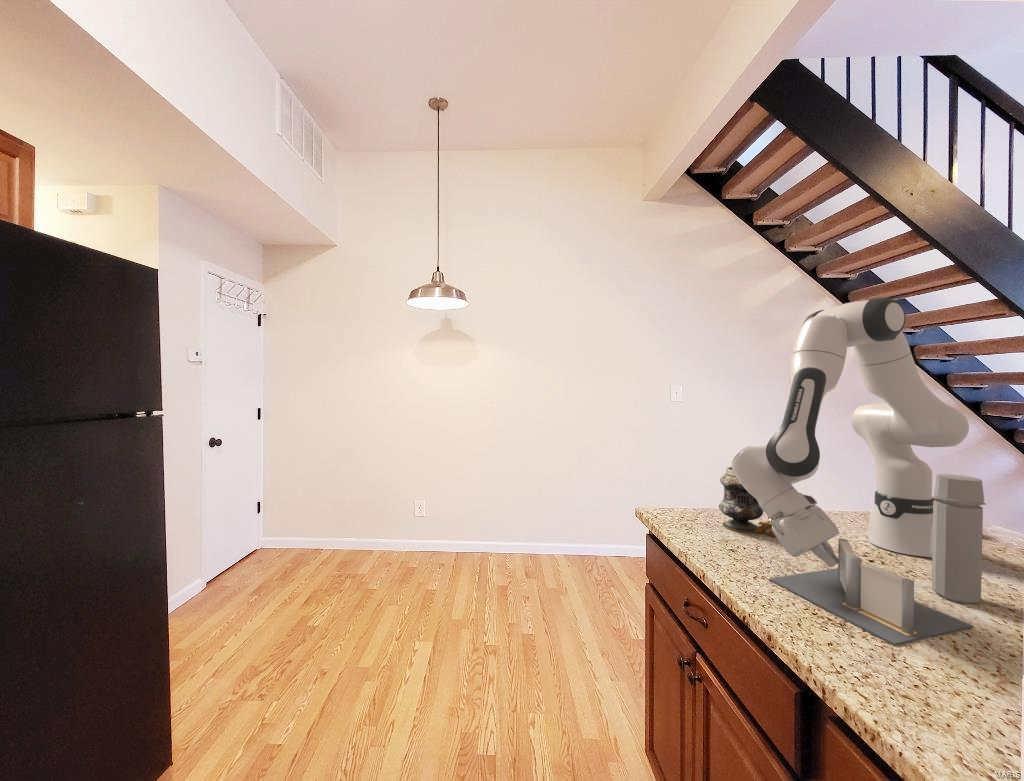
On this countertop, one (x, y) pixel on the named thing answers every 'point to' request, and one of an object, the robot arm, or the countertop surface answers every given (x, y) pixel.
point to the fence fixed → (880, 593)
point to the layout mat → (832, 598)
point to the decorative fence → (765, 528)
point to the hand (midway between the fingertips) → (835, 564)
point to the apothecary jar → (738, 504)
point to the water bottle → (957, 538)
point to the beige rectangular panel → (843, 560)
